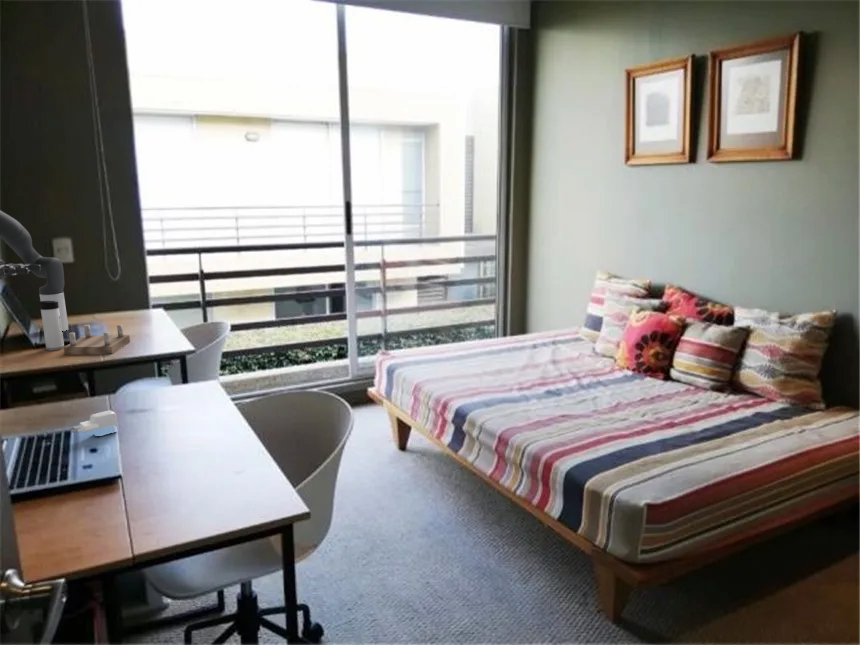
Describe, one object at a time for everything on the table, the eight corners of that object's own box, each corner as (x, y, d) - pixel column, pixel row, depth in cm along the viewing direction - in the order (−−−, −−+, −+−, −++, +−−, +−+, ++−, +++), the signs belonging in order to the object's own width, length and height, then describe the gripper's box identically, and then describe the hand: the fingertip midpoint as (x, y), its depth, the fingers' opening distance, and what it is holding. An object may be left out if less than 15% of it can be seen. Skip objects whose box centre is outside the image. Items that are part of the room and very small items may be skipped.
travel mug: (42, 349, 249) (35, 300, 245) (58, 345, 255) (51, 298, 250) (51, 351, 246) (44, 302, 242) (67, 347, 252) (61, 299, 247)
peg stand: (64, 354, 242) (62, 334, 241) (85, 342, 260) (83, 324, 258) (112, 353, 244) (110, 334, 242) (130, 342, 261) (128, 323, 259)
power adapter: (75, 445, 161) (72, 424, 160) (68, 440, 164) (66, 419, 163) (120, 433, 169) (117, 412, 167) (113, 428, 172) (110, 408, 171)
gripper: (-26, 261, 223) (22, 261, 224) (-2, 257, 237) (42, 256, 238) (-22, 282, 225) (25, 282, 226) (1, 276, 238) (45, 276, 240)
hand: (34, 269), depth 232 cm, fingers open, 8 cm apart
